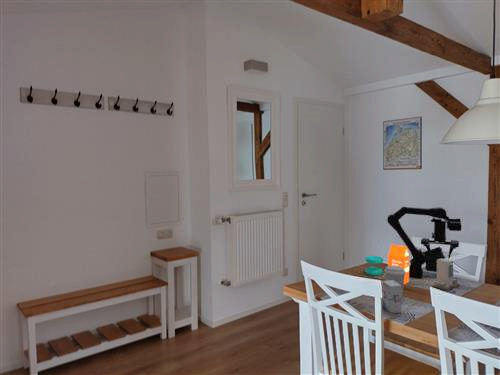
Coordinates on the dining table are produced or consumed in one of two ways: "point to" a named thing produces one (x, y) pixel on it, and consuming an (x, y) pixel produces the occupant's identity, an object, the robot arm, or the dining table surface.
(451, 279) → the module
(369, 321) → the dining table surface
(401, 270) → the grey canister
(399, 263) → the orange juice
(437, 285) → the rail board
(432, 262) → the black slab
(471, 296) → the dining table surface
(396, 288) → the ink box
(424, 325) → the dining table surface
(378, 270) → the donuts
